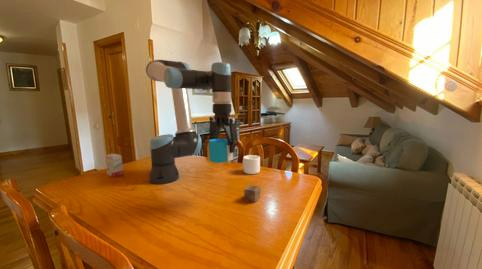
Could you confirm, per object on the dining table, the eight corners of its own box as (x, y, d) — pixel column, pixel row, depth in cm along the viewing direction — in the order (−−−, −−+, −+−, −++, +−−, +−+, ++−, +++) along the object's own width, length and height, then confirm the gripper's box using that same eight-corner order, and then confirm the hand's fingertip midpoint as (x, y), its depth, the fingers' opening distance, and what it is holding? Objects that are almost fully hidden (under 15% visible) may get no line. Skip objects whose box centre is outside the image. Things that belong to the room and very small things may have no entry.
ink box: (123, 175, 118) (121, 154, 116) (114, 177, 114) (112, 156, 112) (116, 172, 123) (114, 153, 121) (107, 174, 119) (104, 154, 117)
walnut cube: (244, 200, 86) (244, 189, 85) (249, 195, 91) (249, 184, 90) (255, 203, 84) (255, 191, 83) (260, 198, 88) (260, 186, 87)
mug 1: (220, 164, 80) (220, 143, 78) (205, 160, 84) (204, 140, 83) (238, 157, 89) (238, 138, 88) (224, 154, 94) (223, 136, 93)
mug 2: (250, 167, 130) (250, 153, 129) (264, 170, 124) (265, 155, 123) (239, 172, 120) (239, 157, 119) (254, 176, 114) (254, 160, 113)
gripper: (198, 103, 88) (200, 155, 91) (233, 103, 73) (234, 165, 77) (212, 103, 93) (214, 152, 96) (247, 103, 79) (247, 161, 82)
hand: (223, 158), depth 87 cm, fingers closed on mug 1, 8 cm apart
